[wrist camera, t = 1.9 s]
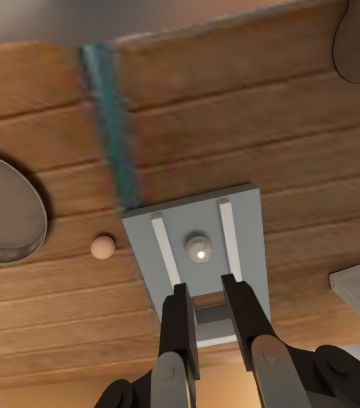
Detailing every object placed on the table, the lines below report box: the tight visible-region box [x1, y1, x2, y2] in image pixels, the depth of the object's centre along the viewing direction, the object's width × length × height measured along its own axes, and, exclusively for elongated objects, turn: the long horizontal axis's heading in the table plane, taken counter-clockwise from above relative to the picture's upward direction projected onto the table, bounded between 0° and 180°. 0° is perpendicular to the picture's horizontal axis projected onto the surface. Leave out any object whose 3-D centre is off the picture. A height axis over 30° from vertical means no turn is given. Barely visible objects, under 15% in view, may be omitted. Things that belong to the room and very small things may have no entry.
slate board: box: [122, 183, 271, 348], centre depth 31 cm, size 27×20×6 cm
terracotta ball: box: [91, 236, 115, 259], centre depth 30 cm, size 4×4×4 cm
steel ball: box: [185, 236, 213, 265], centre depth 27 cm, size 4×4×4 cm
